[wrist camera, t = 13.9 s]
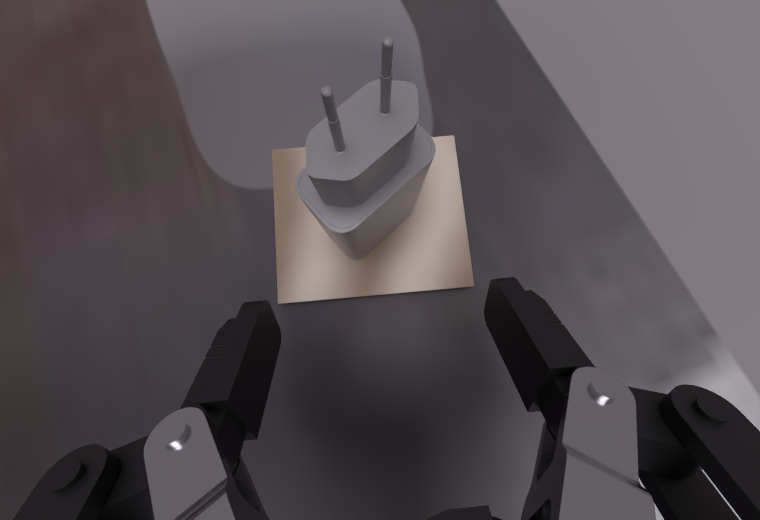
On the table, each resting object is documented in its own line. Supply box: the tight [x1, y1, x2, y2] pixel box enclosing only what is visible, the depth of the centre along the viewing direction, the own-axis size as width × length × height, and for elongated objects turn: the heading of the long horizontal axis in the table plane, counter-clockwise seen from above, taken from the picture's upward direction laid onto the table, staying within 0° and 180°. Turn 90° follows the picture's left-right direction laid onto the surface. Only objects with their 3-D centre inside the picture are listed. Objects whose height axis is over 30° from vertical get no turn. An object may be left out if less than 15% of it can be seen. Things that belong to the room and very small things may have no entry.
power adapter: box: [295, 36, 436, 260], centre depth 12 cm, size 3×5×12 cm, turn 133°
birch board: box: [272, 135, 474, 304], centre depth 19 cm, size 12×10×1 cm
